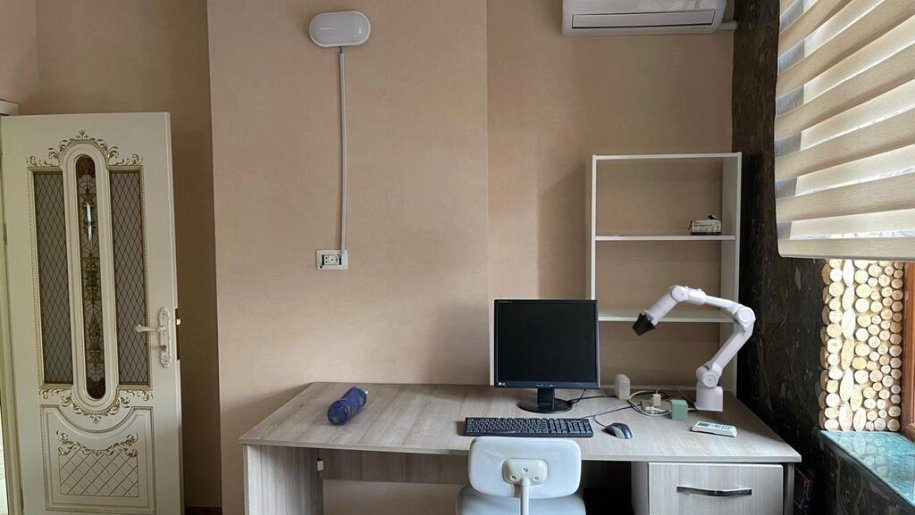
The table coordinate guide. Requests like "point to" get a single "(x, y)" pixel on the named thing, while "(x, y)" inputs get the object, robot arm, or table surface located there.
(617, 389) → the medicine box
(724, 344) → the robot arm
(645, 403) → the post board
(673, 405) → the seafoam green cube
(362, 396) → the pencil case
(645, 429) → the table surface
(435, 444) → the table surface
